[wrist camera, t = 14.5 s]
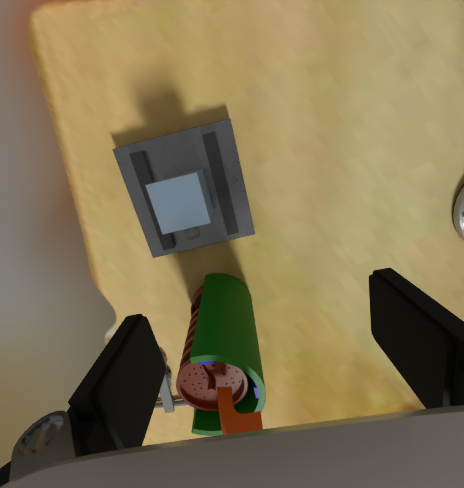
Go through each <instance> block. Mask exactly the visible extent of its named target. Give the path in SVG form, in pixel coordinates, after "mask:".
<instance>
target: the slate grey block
mask: <svg viewBox="0 0 464 488" xmlns="http://www.w3.org/2000/svg"><path fill="white" fill-rule="evenodd" d="M145 186H146V188H147V191H148V194H149V197H150V200H151V203H152V206H153V209H154V211H155V214H156V217H157V220H158V223H159V226H160V229H161V232H162V234H167V233H171V232H175V231H180V230H183V231H184V234H185V237H186V240H193V239H196V238H198V237H200V232H199V229H198V226H201V225H205V224H209V223H211V219H212V214H213V210H214V208H213V204H212V201H211V197H210V193H209V189H208V186H207V182H206V178H205V174H204V171H203V169H199V170H195V171H191V172H187V173H183V174H179V175H175V176H171V177H167V178H163V179H160V180H158V181H155V182H153V183H150V184H147V185H145Z"/></svg>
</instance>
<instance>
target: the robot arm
mask: <svg viewBox="0 0 464 488" xmlns="http://www.w3.org/2000/svg"><path fill="white" fill-rule="evenodd" d="M453 218H454V225H455V228H456V231H457V232H458V234H459V236H460V237H461V238H462V239H463V240H464V186H463V188H462V189H461V191H460V193H459V195H458V197H457V200H456V203H455V206H454V214H453ZM369 293H370V314H371V331H372V335H373V337H374V339H375V340H376V342H377V343H378V344H379V346H380V347H381V349H382V350H383V351H384V353H385V354H386V355H387V357H388V358H389V359H390V361H391V362H392V363H393V365H394V366H395V367H396V369H397V370H398V371H399V373H400V374H401V375H402V377H403V378H404V379H405V381H406V382H407V383H408V385H409V386H410V387H411V389H412V390H413V392H414V393H415V394H416V396H417V397H418V398H419V400H420V401H421V402H422V404H423V405H424V406H425V408H426V409H421V410H412V411H403V412H394V413H386V414H379V415H371V416H363V417H355V418H347V419H339V420H331V421H323V422H316V423H308V424H300V425H293V426H285V427H278V428H270V429H263V430H255V431H248V432H240V433H233V434H225V435H218V436H211V437H203V438H196V439H189V440H182V441H175V442H168V443H161V444H153V445H146V446H142V443H143V440H144V437H145V434H146V431H147V428H148V425H149V422H150V419H151V416H152V413H153V410H154V407H155V404H156V401H157V398H158V395H159V392H160V389H161V386H162V382H163V379H164V376H165V373H166V364H165V361H164V359H163V356H162V354H161V351H160V349H159V346H158V344H157V341H156V339H155V336H154V334H153V331H152V329H151V326H150V324H149V321H148V319H147V317H145V316H144V317H143V315H142V314H136V315H131V316H127V317H126V318H125V319H124V321H123V322H122V324H121V325H120V326H119V328H118V329H117V331H116V332H115V334H114V335H113V337H112V338H111V340H110V341H109V343H108V344H107V345H106V347H105V348H104V350H103V351H102V353H101V354H100V356H99V357H98V359H97V360H96V362H95V363H94V364H93V366H92V367H91V369H90V370H89V372H88V373H87V375H86V376H85V378H84V379H83V380H82V382H81V383H80V385H79V386H78V388H77V389H76V391H75V392H74V394H73V395H72V397H71V398H70V399H69V401H68V403H69V404H70V408H69V409H68V411H67V412H65V411H55V412H52V413H49V414H47V415H45V416H44V417H42V418H41V419H39V420H38V421H36V422H35V423H34V424H32V425H31V426H30V427H29V428H28V429H27V430H26V431H25V432H24V433H23V434H22V436H21V437H20V438H19V439H18V441H17V443H16V444H15V446H14V448H13V452H12V457H11V461H10V462H9V463H7V464H6V465H4V466H3V467H2V468H0V488H464V321H462V320H461V319H459V318H458V317H457V316H455V315H454V314H453V313H451V312H450V311H449V310H447V309H446V308H445V307H443V306H442V305H440V304H439V303H438V302H436V301H435V300H434V299H432V298H431V297H430V296H428V295H427V294H426V293H424V292H423V291H421V290H420V289H419V288H417V287H416V286H415V285H413V284H412V283H411V282H409V281H408V280H407V279H405V278H404V277H402V276H401V275H400V274H398V273H397V272H396V271H394V270H393V269H391V268H385V269H380V270H374V271H373V275H370V276H369Z"/></svg>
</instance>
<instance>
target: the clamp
mask: <svg viewBox="0 0 464 488" xmlns="http://www.w3.org/2000/svg"><path fill="white" fill-rule="evenodd" d="M161 354H162V356H163V359H164V361H165V364H166V362H167V357H166V354H164V353H161ZM170 379H171V372H170V371H169V372H168V368H167V364H166V373H165V376H164V379H163V382H162V386H161V389H160V395H161V399H162V402H160V403H156V404H155V407H154V408H162V407H164V410H165V412H166V413H169V412H174V410H175V409H174V406H182V405H188V404H187V403H186V402H185V401H183V400H180V401H175V399H174V398H172V397H171V393H170V389H169V387H170V386H171V385H172V384H171V380H170ZM194 410H195V408H194Z"/></svg>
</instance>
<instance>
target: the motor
mask: <svg viewBox="0 0 464 488" xmlns="http://www.w3.org/2000/svg"><path fill="white" fill-rule="evenodd" d="M176 388H177V391H178V394H179V395H180V397H181V398H182V399H183V401H185V402H186V403H187V404H188V405H190V406H192V407H194V408H195V411H194V418H193V426H192V433H194V434H199V435H207V436H217V435H225V434H233V433H240V432H248V431H255V430H263V428H262V419H261V412H262V410H263V408H264V405H265V401H266V392H265V385H264V378H263V372H262V365H261V358H260V352H259V345H258V339H257V332H256V326H255V319H254V312H253V306H252V299H251V295H250V292H249V290H248V289H247V287H246V286H245V285H244V284H243V283H242V282H241V281H240V280H238V279H237V278H235V277H233V276H230V275H226V274H209V275H206V277H205V282H204V285H203V286H201V287H200V288H199V289H198V290H197V292H196V293H195V295H194V298H193V302H192V306H191V321H190V326H189V329H188V334H187V338H186V342H185V347H184V350H183V356H182V359H181V363H180V369H179V372H178V376H177V381H176ZM196 393H197V394H196Z"/></svg>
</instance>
